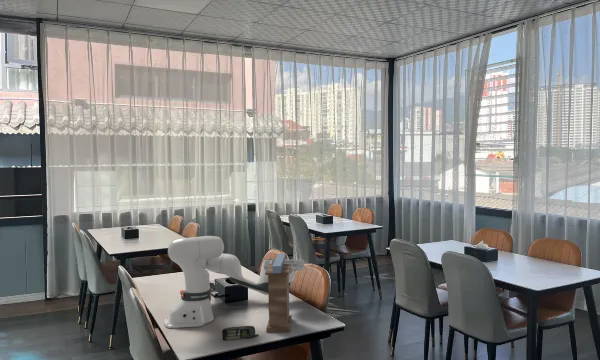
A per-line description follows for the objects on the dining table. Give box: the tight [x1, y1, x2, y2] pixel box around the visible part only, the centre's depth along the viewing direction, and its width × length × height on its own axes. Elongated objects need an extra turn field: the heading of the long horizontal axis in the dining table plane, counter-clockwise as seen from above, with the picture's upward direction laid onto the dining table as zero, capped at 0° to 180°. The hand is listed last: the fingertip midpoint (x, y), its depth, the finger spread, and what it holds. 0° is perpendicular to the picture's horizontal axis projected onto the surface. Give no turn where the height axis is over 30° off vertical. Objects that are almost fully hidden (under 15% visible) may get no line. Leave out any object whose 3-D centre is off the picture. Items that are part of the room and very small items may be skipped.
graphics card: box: [209, 280, 218, 298], centre depth 259 cm, size 10×3×25 cm
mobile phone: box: [221, 325, 259, 341], centre depth 190 cm, size 5×3×15 cm
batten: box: [272, 253, 287, 273], centre depth 206 cm, size 26×4×3 cm, turn 177°
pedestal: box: [265, 264, 293, 333], centre depth 203 cm, size 16×10×26 cm, turn 177°
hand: (282, 260), depth 219 cm, fingers open, 8 cm apart
